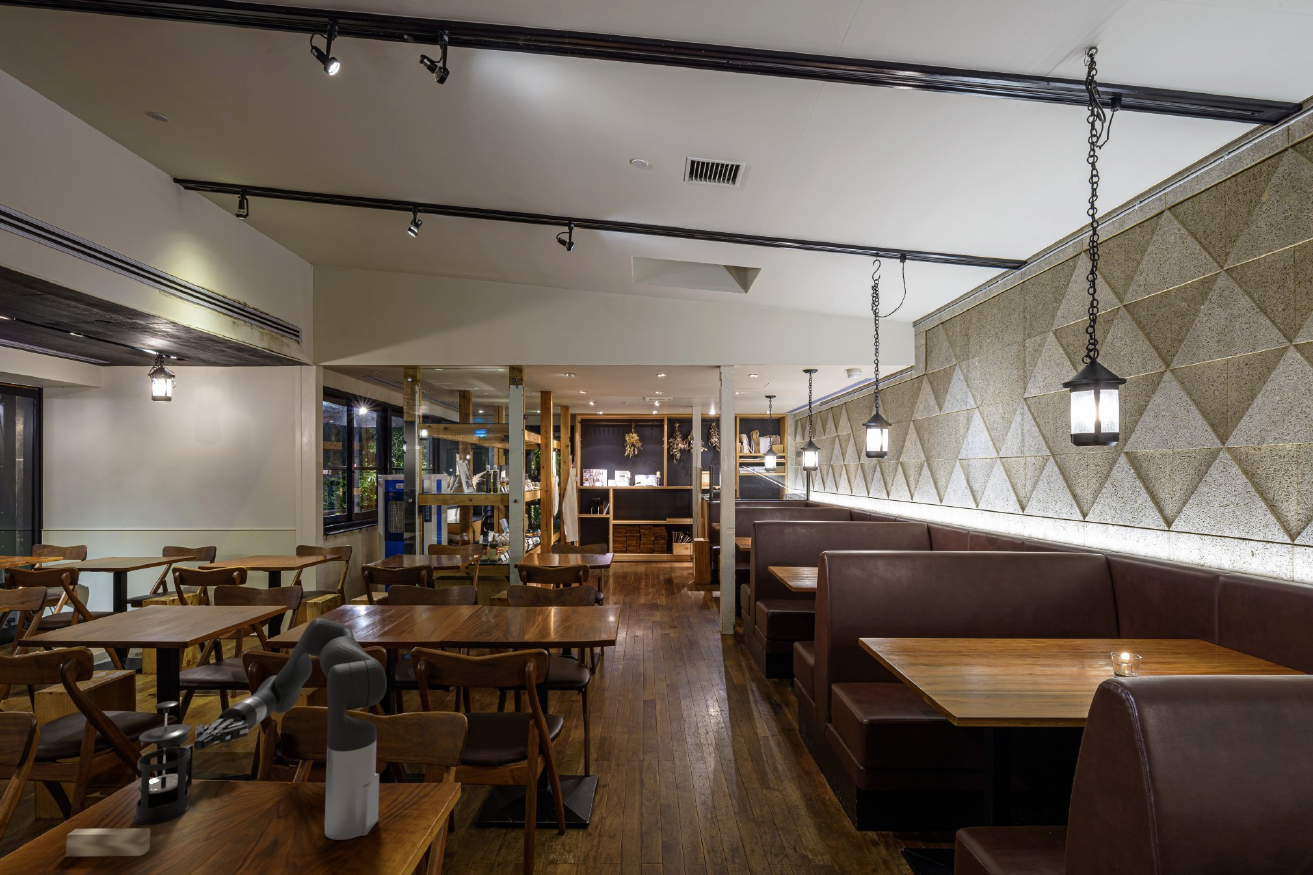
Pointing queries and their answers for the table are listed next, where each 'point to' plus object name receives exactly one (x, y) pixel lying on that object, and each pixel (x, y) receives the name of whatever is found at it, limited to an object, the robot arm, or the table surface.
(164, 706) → the french press
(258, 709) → the robot arm
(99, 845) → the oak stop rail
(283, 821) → the table surface
